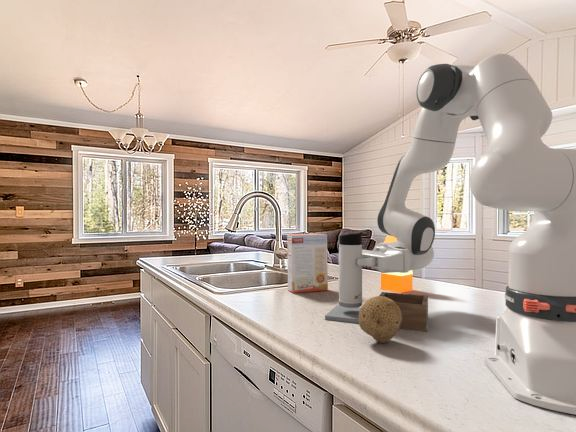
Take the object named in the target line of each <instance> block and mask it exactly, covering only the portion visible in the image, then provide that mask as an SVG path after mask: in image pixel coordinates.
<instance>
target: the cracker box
mask: <svg viewBox="0 0 576 432" xmlns="http://www.w3.org/2000/svg"><path fill="white" fill-rule="evenodd" d="M286 237H287V239H286V240H287V241H286V242H287V244H286V246H287V249H286V251H287V254H286V255H287V256H286V257H287V291H289V292H290V293H293V294H297V293H298V294H299V293H309V292H311V293H312V292H325V291H326V292H327V291H328V289H329V288H328V287H329V286H328V284H329V283H328V281H329V280H328V279H329V278H328V277H329V275H328V273H329V271H328V234H326V233H294V234H293V233H292V234H291V233H290V234H287V236H286Z"/></svg>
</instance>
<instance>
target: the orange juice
mask: <svg viewBox="0 0 576 432" xmlns="http://www.w3.org/2000/svg"><path fill="white" fill-rule="evenodd" d="M396 240H397V238H395V237H393V236H390V235H386V237H385V239H384V242H383V243H385V242H395V241H396ZM413 274H414V270H411V271H409V272H407V273H400V272H393V273H381V272H380V290H384V291H390V292H393V293H400V294H404V293H406V292H410V291H413V286H414V284H413V279H414V278H413V277H414V276H413Z"/></svg>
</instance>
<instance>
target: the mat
mask: <svg viewBox="0 0 576 432" xmlns="http://www.w3.org/2000/svg"><path fill="white" fill-rule="evenodd" d="M360 309H361V307H358V308H347V307H342V306H340V305H339V304H338V305H335V306H334V307H333V308H332V309H331V310H329V312H327V313H326V314H325V315H324V320H327V321H335V322H336V321H337V322H345V323H351V324H359V312H360Z"/></svg>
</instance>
